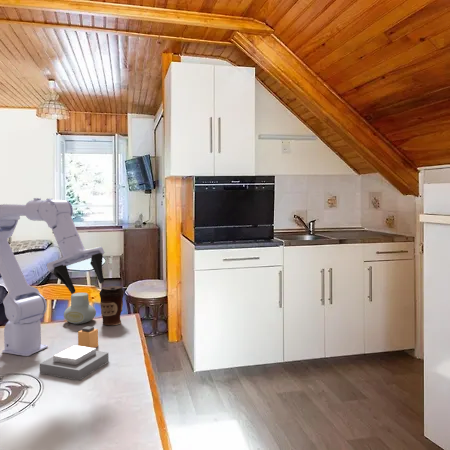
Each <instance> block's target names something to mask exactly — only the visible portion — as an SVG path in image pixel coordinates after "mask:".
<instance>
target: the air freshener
mask: <svg viewBox="0 0 450 450" xmlns="http://www.w3.org/2000/svg"><path fill="white" fill-rule="evenodd" d="M70 302H71V303H70V306H68V307H67V308H66V309H65V310H64V311H63V318H64V320H66V321H67V322H68V323H70V324H73V325H82V324H86V323H88V322H91V321H92V320H93V319H94V318H95V317H96V315H97V311H96V308H95V307H94V306H93V305H91V304H89V303H90V302H89V293H87V292H75V293H73V294H71V295H70Z"/></svg>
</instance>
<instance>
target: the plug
mask: <svg viewBox="0 0 450 450" xmlns="http://www.w3.org/2000/svg"><path fill="white" fill-rule="evenodd" d="M77 346H84V347H91V348H97V347H99V329H98V328H95V326H87V325H86V326H85V327H82V328H81V330H79V331H77Z"/></svg>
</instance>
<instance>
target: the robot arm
mask: <svg viewBox="0 0 450 450" xmlns="http://www.w3.org/2000/svg"><path fill="white" fill-rule="evenodd" d="M73 215H74V209H73V206H72V203H71V202H70V201H69V200H65V199H53V198H46V199H44V200H43V199H42V198H41V197H34V198H33V200H32V199H31V200H29V201H28V202H26V204H18V203H16V204H15V203H12V204H11V203H9V204H7V203H6V204H5V203H4V204H0V277H1V279H2V280H3V283H4V285H5V287H6V289H7V291H8V293H7V294H6V296H5V297H4V298H3V300H2V304H3V306H4V313H5V317H6V319H7V320H8V321H7V322H6V323H5V326H4V330H3V337H4V338H3V339H4V341H3V342H4V345H3V347H4V349H3V350H1V352H2V353H4V354H11V355H18V356H23V357H30V356H32V355H34V354H35V353H37V352H40V351H42V350H44V349H46V348H49V345H47V344H42V334H41V333H42V331H41V328H42V327H41V326H42V325H41V324H42V323H41V319H43V317H44V314H46V311H47V307H48V306H47V304H48V303H47V300H46V299H45V297H44V296H43V295H42V294H41V292H40V290H39V289H38V288H36V287H34V286H31V285H30V284H29V283H28V282H27V280H26V278H25V275H24V274H23V271H22V269H21V267H20V265H19V263H18V260H17V258H16V256H15V254H14V252H13V249H12V247H11V245H10V243H9V241H8V239H9V238H10V237H12V236H13V234H14V232H15V230H16V226H17V225H18V222H19V220H20V219H21V216H22V217H23V216H25V217H26V218H27V219H28V220H29V221H34V222H35V221H37V222H39V221H40V222H41V221H42V222H45V223H46V224H47V226H48V228H50V229H51V231H52V233H53V236H54V237H55V241H56V244H57V246H58V248H59V250H60V252H61V255H62V257H60V258H58V259H55V260H53V261H50V262H47V263H46V267H47V270H48V272H49V273H52V272H53V275H54V276H55V277H56V278H57V279H58V280H60V282H62V283H63V285H64V286H65V287H66V288H67V289H68V291H69V292H70V294H71V295H72V294H75V293H76V288H75V286H74V283H73V281H72V280H71V276H70V274H69V270H68V266H71V265H73V264H78V263H80V262H83V261H86V260H89V259H90V263H89V264H90V265H91V267H92V268H93V271H94V272H95V276H96V278H97V281H98V283H99V284H103V283H104V282H105V279H104V273H103V257H104V254H105V251H104V248H103V246H102V245H101V246H98V247H93V248H89V249H88V248H87V249H85V247H84V244H83V241H82V239H81V237H80V234H79V232H78V229H77V227H76V225H75V223H74V220H73Z"/></svg>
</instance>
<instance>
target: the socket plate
mask: <svg viewBox="0 0 450 450" xmlns="http://www.w3.org/2000/svg"><path fill="white" fill-rule="evenodd" d="M107 363H109V352H107V351H100V350H96V354H95V355H93V356H91V357H90V358H88V359H86V360H84V361H83V362H81V363H79V364H77V365H71V364H65V363H59V362H53V356H52V357H50V358H48V359H46V360H43V361H42V362H40V363H39V374H41V375H47V376H51V377H53V376H54V377H59V378H64V379H65V378H66V379H70V380H75V381H80V380H82V379H83V378H85V377H87V376H88V375H90V374H91V373H93V372H94V371H96V370H98V369H99V368H101V367H102V366H104V365H106V364H107Z"/></svg>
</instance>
